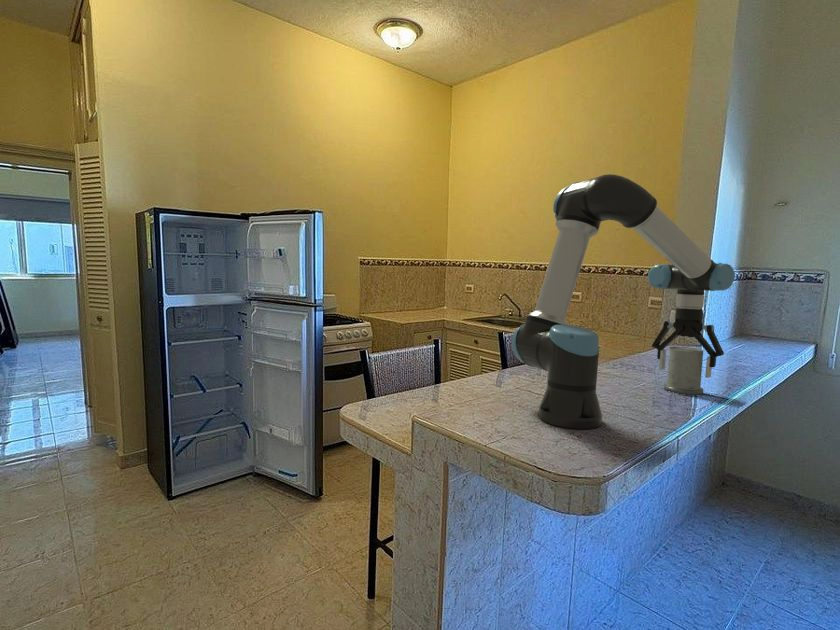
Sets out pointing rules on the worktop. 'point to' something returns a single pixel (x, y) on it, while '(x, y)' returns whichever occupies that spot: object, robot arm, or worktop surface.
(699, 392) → the pad
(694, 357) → the grey marble cylinder
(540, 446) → the worktop surface
